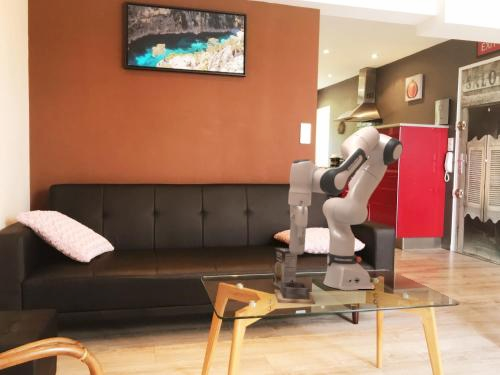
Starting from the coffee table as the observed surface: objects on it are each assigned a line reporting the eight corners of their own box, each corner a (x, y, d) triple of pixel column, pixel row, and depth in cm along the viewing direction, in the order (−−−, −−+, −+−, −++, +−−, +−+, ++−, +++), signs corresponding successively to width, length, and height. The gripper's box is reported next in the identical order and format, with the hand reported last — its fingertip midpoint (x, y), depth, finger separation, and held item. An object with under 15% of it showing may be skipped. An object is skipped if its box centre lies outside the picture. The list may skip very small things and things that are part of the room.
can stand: (308, 293, 177) (309, 281, 177) (315, 303, 163) (315, 290, 163) (274, 292, 176) (275, 279, 176) (278, 302, 162) (278, 289, 162)
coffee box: (272, 284, 188) (274, 247, 188) (285, 283, 191) (287, 247, 190) (282, 290, 180) (284, 251, 180) (295, 289, 183) (297, 251, 182)
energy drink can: (294, 251, 173) (296, 213, 173) (307, 253, 170) (309, 215, 169) (285, 252, 169) (288, 214, 168) (298, 255, 165) (301, 216, 164)
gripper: (312, 202, 158) (310, 240, 159) (303, 199, 179) (301, 232, 179) (295, 202, 158) (293, 239, 158) (288, 198, 178) (286, 231, 179)
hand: (297, 235), depth 169 cm, fingers closed on energy drink can, 6 cm apart
